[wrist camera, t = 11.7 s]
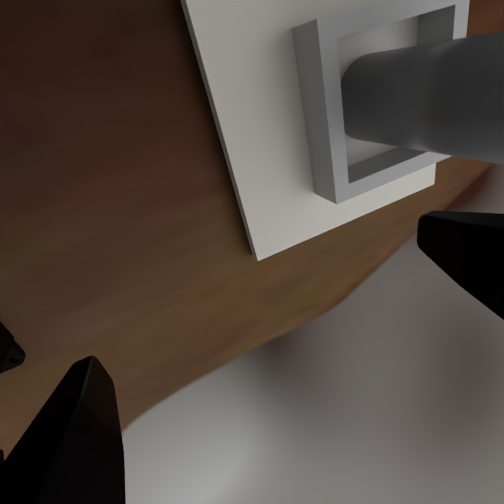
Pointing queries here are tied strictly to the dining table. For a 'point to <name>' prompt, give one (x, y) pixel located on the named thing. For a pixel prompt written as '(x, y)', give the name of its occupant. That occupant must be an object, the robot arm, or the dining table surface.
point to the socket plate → (307, 107)
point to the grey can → (431, 97)
